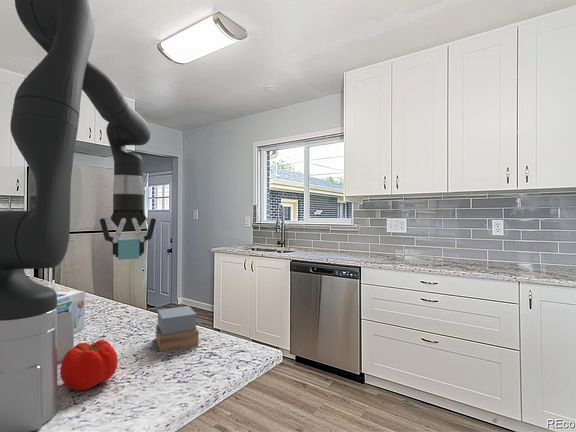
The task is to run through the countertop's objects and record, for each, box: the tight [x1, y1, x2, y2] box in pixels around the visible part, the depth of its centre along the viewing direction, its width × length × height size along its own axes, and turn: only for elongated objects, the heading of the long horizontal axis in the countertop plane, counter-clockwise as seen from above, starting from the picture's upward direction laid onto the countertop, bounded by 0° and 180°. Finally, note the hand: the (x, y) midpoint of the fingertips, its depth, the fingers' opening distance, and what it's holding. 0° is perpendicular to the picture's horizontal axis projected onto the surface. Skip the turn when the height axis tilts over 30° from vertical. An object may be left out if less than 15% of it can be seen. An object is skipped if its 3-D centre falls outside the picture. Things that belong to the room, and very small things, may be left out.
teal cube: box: [117, 238, 140, 260], centre depth 90 cm, size 5×5×5 cm
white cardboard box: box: [57, 312, 75, 363], centre depth 75 cm, size 4×7×10 cm, turn 137°
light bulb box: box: [56, 289, 86, 334], centre depth 91 cm, size 11×7×11 cm, turn 168°
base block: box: [155, 324, 199, 353], centre depth 85 cm, size 9×9×4 cm
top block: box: [157, 305, 197, 335], centre depth 85 cm, size 8×8×4 cm
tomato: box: [59, 339, 119, 391], centre depth 65 cm, size 9×9×8 cm
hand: (128, 256), depth 90 cm, fingers closed on teal cube, 5 cm apart
